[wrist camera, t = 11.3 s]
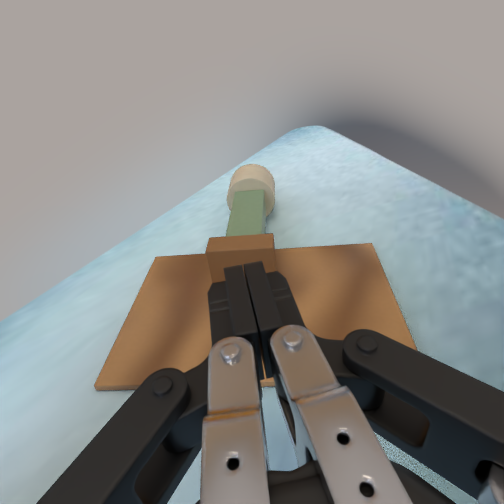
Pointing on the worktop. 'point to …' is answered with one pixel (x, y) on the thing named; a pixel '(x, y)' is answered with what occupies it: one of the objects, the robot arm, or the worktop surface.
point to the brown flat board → (198, 321)
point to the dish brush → (245, 223)
